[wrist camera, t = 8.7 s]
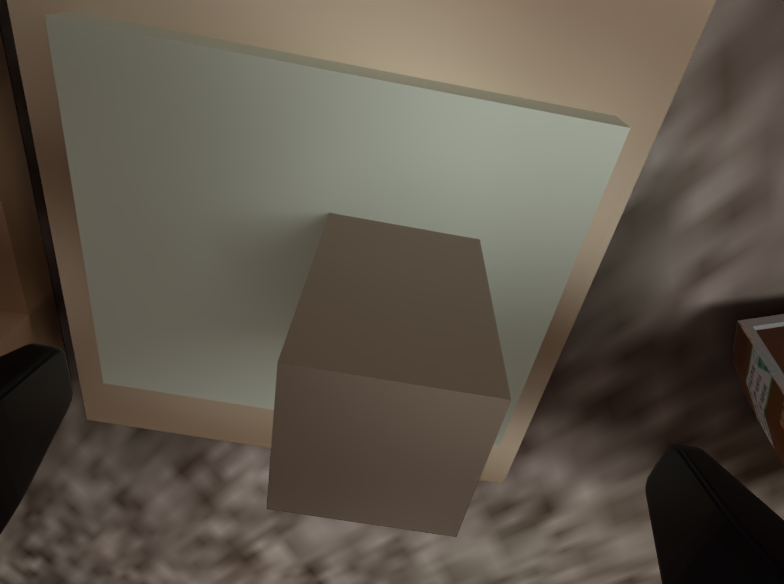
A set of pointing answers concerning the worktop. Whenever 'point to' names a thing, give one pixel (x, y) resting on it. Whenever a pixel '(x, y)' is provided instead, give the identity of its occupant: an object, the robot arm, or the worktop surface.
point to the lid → (324, 252)
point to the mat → (396, 55)
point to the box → (21, 241)
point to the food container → (763, 373)
